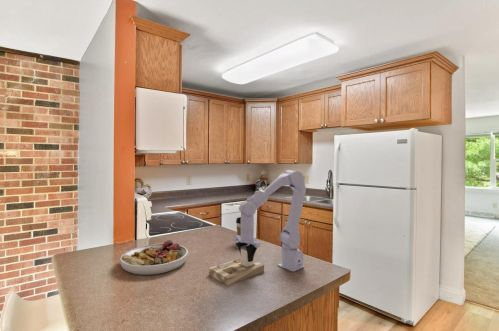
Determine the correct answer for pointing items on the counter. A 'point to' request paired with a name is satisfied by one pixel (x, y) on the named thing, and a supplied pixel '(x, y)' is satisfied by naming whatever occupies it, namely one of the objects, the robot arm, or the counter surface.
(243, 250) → the plug
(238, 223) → the coffee cup
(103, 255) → the counter surface
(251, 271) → the socket block
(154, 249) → the bowl
